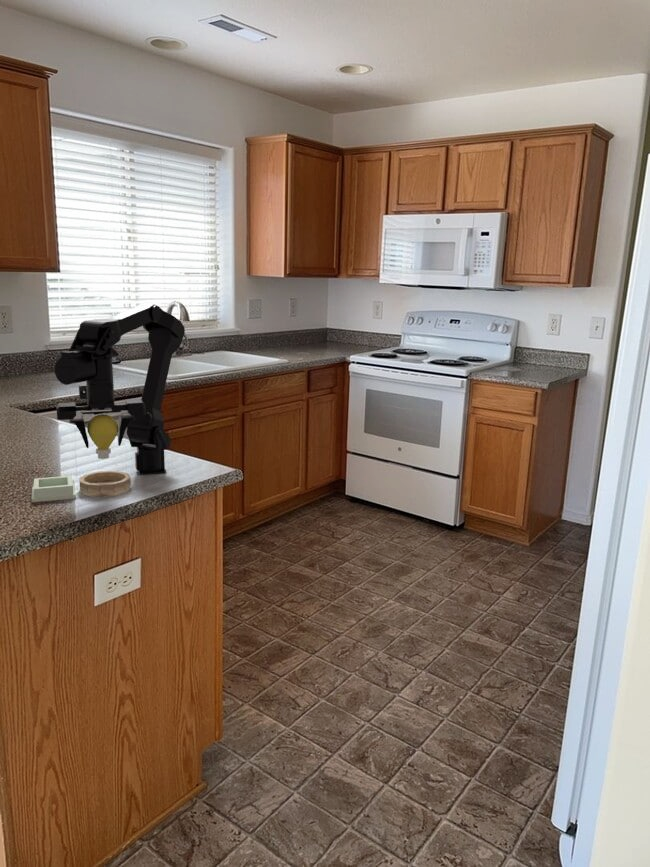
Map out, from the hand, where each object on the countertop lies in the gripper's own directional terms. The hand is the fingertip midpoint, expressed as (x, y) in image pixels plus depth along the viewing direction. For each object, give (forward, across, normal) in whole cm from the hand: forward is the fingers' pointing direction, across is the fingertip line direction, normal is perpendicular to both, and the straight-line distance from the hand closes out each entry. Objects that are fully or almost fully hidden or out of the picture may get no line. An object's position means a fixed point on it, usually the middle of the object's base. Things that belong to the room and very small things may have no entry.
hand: (103, 446), depth 152 cm
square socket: (+10, +11, 0) cm, 15 cm away
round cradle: (+10, 0, 0) cm, 10 cm away
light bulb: (+3, 0, 0) cm, 3 cm away
